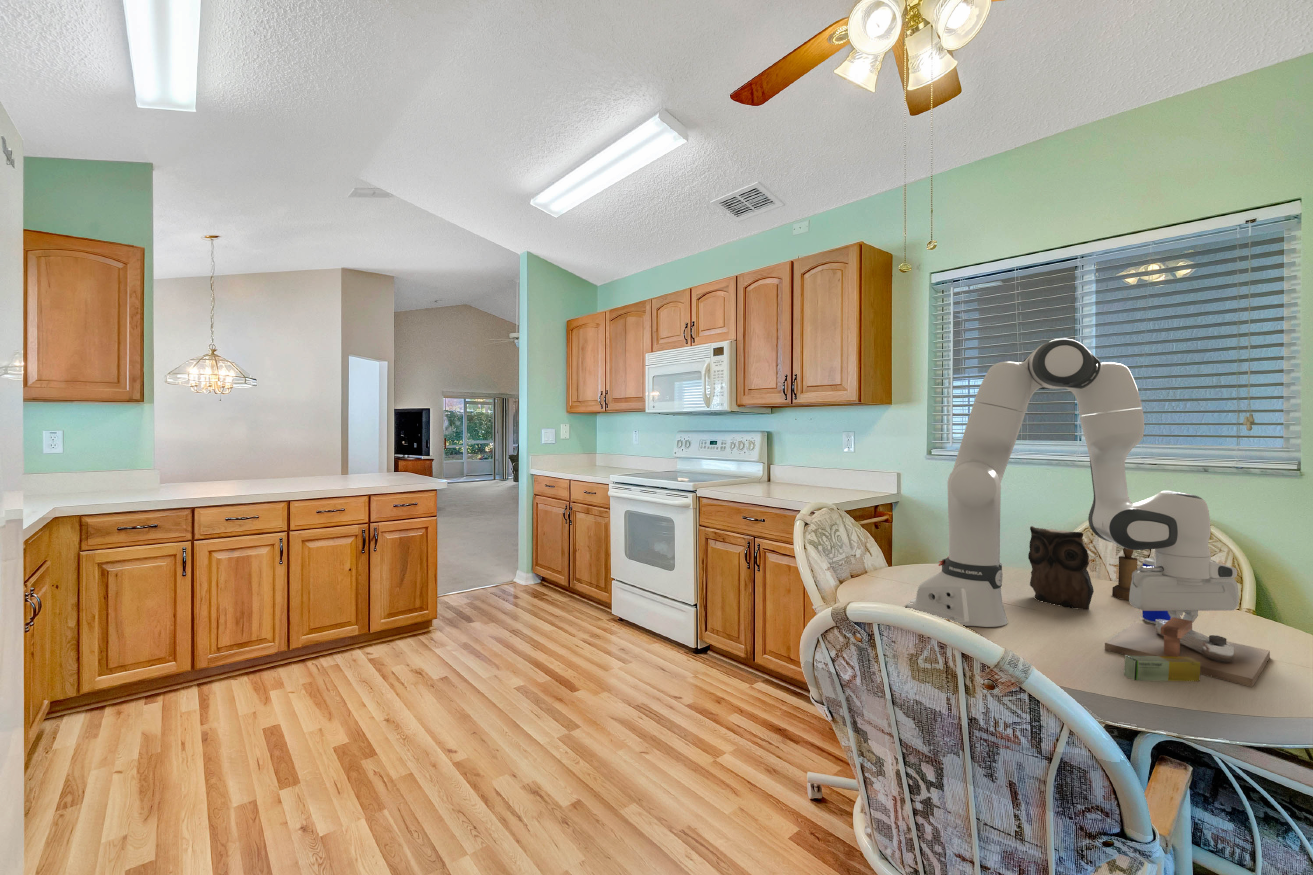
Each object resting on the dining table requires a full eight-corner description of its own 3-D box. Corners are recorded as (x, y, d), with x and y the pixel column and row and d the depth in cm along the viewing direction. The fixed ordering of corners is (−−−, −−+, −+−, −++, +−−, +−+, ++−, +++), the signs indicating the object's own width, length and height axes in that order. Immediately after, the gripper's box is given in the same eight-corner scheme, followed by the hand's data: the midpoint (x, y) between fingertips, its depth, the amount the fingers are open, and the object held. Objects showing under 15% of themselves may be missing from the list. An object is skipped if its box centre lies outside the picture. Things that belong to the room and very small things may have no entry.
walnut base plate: (1104, 649, 118) (1105, 617, 118) (1134, 627, 131) (1134, 599, 131) (1252, 687, 101) (1252, 649, 101) (1269, 657, 114) (1270, 624, 114)
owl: (1095, 611, 143) (1096, 533, 142) (1037, 606, 147) (1038, 530, 147) (1077, 597, 155) (1077, 525, 154) (1024, 593, 159) (1024, 523, 159)
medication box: (1134, 681, 104) (1134, 660, 104) (1122, 674, 106) (1123, 654, 106) (1201, 682, 103) (1201, 661, 103) (1187, 675, 106) (1188, 655, 106)
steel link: (1240, 661, 107) (1240, 648, 107) (1215, 660, 108) (1215, 647, 107) (1170, 630, 124) (1170, 619, 124) (1148, 629, 124) (1148, 618, 124)
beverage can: (1176, 626, 132) (1177, 563, 132) (1151, 624, 133) (1151, 562, 133) (1161, 618, 137) (1162, 558, 137) (1137, 617, 138) (1137, 557, 138)
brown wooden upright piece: (1149, 601, 151) (1150, 535, 151) (1125, 601, 151) (1126, 535, 151) (1129, 594, 158) (1129, 530, 157) (1106, 594, 158) (1106, 530, 158)
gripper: (1144, 570, 118) (1145, 635, 118) (1245, 569, 117) (1246, 635, 117) (1121, 563, 124) (1121, 625, 124) (1216, 562, 123) (1217, 624, 124)
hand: (1182, 629), depth 121 cm, fingers closed
